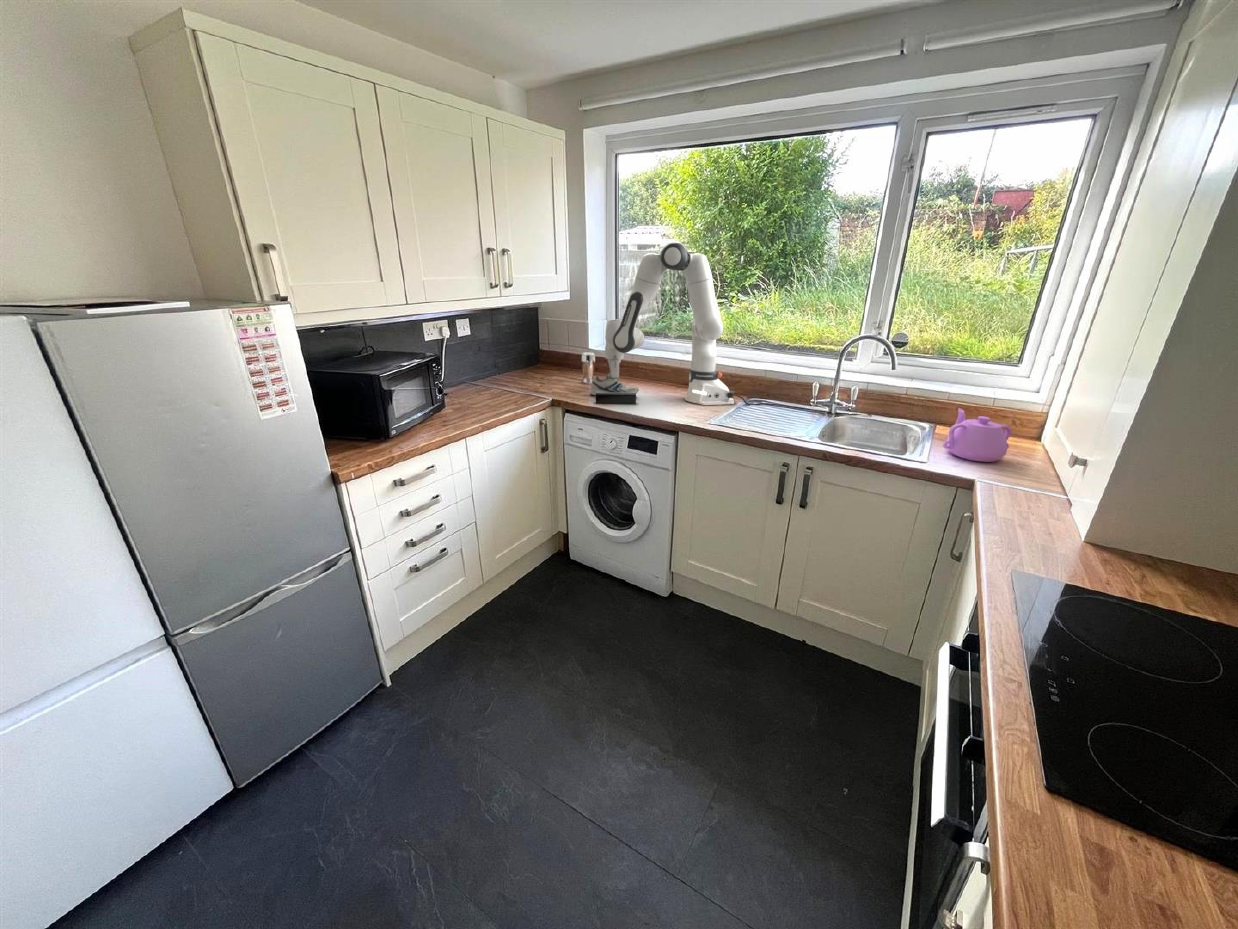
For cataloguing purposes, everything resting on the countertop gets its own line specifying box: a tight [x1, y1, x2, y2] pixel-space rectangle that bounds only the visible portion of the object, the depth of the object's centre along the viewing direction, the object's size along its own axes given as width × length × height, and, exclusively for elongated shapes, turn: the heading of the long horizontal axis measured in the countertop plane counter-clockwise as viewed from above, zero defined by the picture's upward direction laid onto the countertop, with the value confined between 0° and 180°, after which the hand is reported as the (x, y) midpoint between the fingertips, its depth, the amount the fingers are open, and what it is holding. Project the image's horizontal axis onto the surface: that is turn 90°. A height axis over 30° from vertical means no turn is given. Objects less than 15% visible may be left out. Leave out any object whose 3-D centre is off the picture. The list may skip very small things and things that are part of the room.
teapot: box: [942, 407, 1012, 463], centre depth 170 cm, size 22×22×14 cm
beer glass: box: [581, 352, 596, 385], centre depth 258 cm, size 7×7×15 cm
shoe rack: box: [595, 392, 637, 405], centre depth 221 cm, size 18×2×5 cm, turn 94°
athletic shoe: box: [589, 372, 640, 397], centre depth 234 cm, size 10×23×12 cm, turn 89°
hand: (613, 383), depth 239 cm, fingers closed
